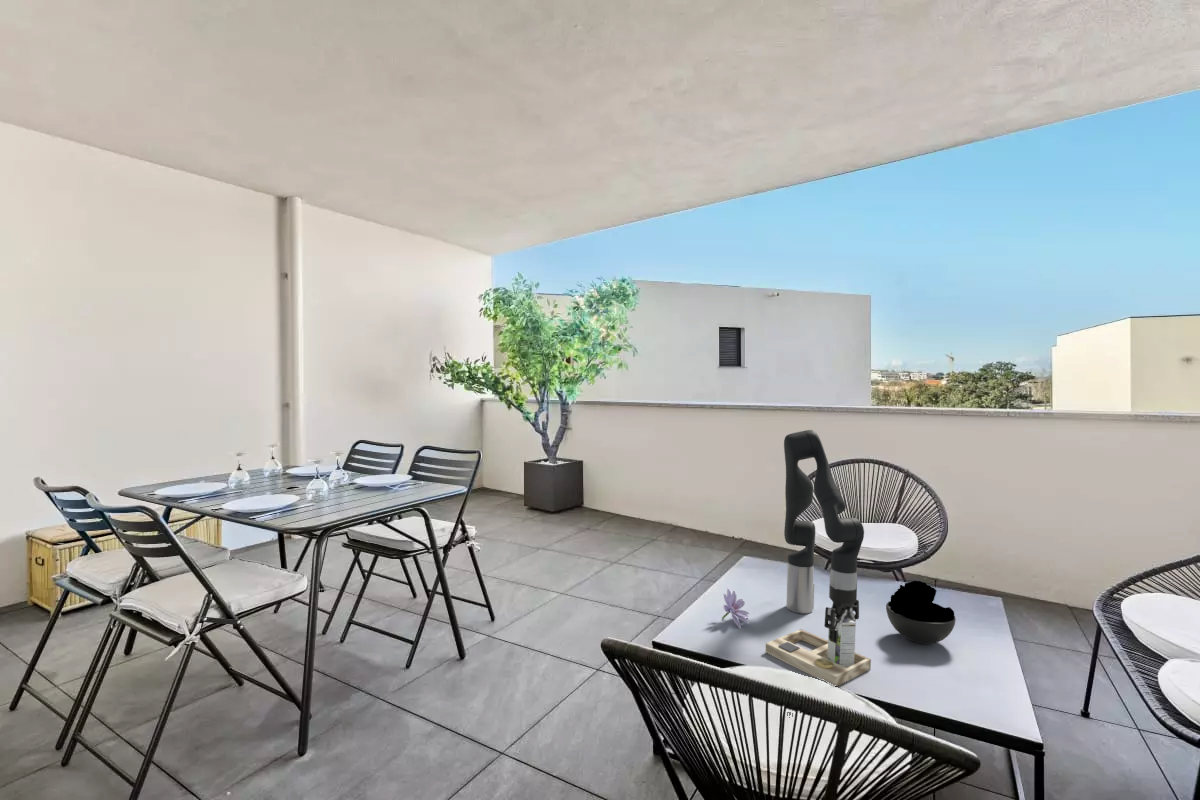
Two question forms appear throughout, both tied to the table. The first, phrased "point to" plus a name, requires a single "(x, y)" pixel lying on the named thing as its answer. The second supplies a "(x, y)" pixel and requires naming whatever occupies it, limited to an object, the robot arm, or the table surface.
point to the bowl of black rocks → (919, 614)
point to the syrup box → (843, 644)
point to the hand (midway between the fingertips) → (841, 637)
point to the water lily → (735, 608)
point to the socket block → (815, 658)
